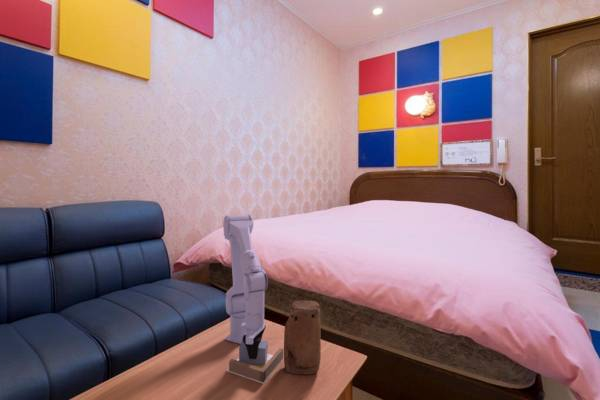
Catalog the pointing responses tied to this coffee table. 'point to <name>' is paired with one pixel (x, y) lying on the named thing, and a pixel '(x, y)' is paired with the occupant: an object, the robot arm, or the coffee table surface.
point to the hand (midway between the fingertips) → (254, 353)
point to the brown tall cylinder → (303, 338)
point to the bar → (261, 353)
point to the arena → (256, 367)
